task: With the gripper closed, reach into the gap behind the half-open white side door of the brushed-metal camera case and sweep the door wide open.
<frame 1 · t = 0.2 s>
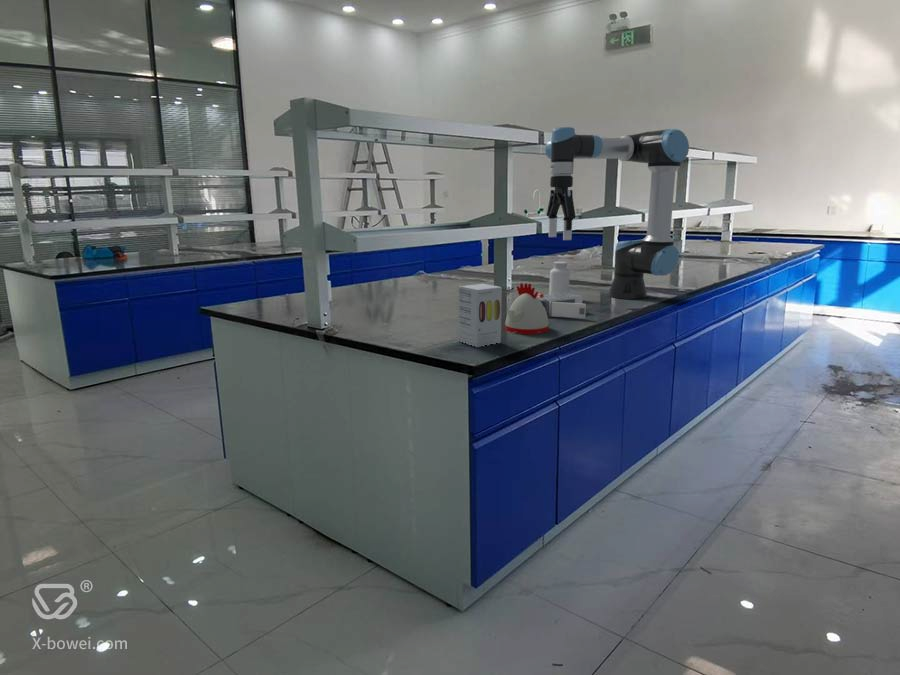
hand: (559, 238, 211), 27 cm above the countertop, tool pointing down, fingers open, 13 cm apart
supplement box: (479, 343, 180), on the countertop
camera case: (555, 312, 222), on the countertop
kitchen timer: (526, 330, 196), on the countertop
door: (566, 310, 210), point 3 cm above the countertop, hinge at 50.0°
pill bottle: (558, 299, 248), on the countertop
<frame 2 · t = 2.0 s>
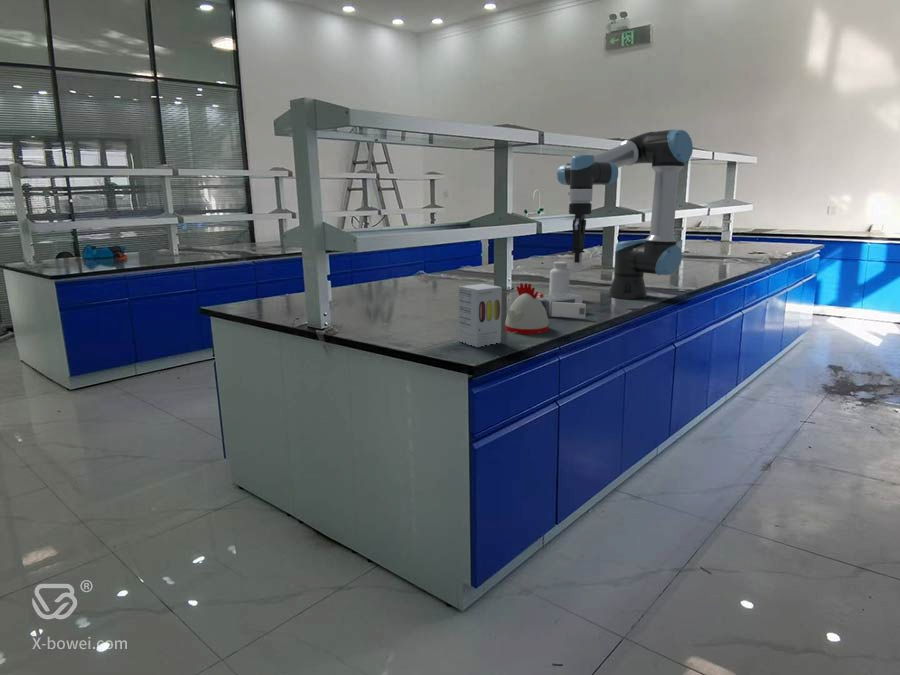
hand: (577, 271, 211), 16 cm above the countertop, tool pointing down, fingers closed
nothing on the countertop moved.
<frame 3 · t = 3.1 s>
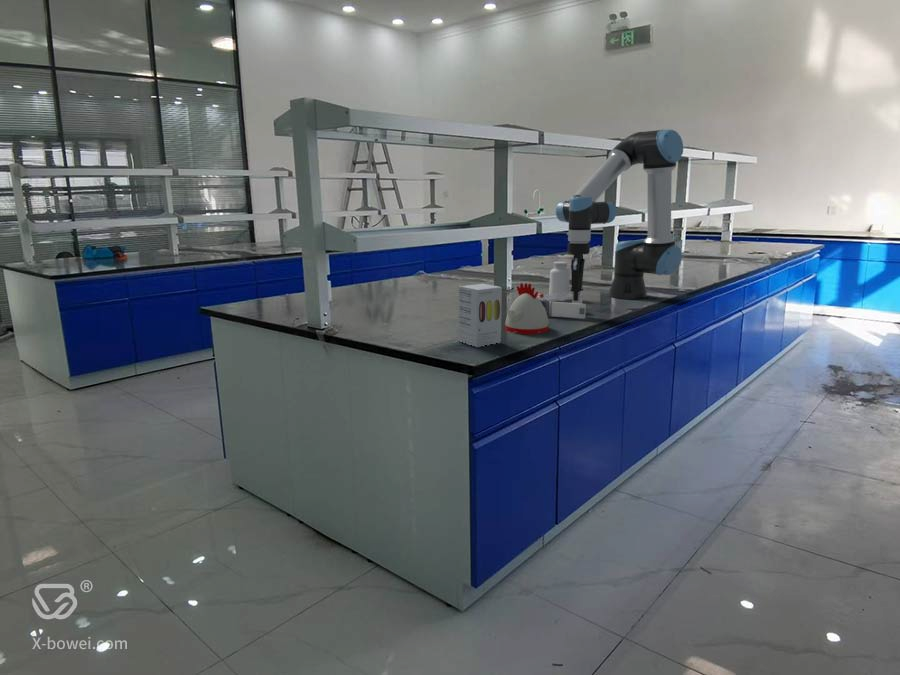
hand: (575, 309, 214), 2 cm above the countertop, tool pointing down, fingers closed
nothing on the countertop moved.
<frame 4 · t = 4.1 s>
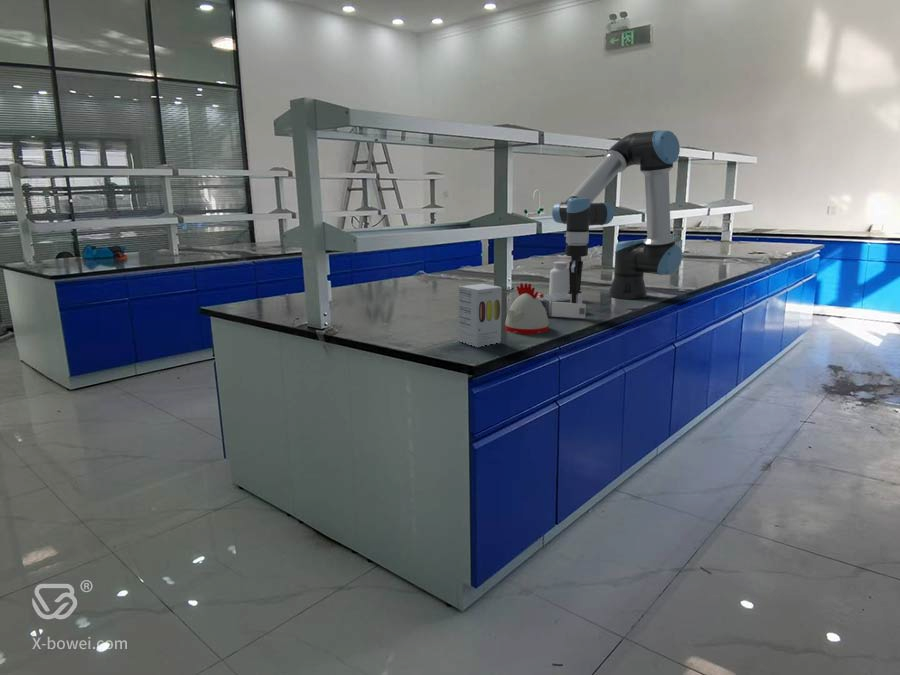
hand: (574, 312, 212), 2 cm above the countertop, tool pointing down, fingers closed
door: (566, 310, 210), point 3 cm above the countertop, hinge at 50.2°, touching gripper
everything else where it was.
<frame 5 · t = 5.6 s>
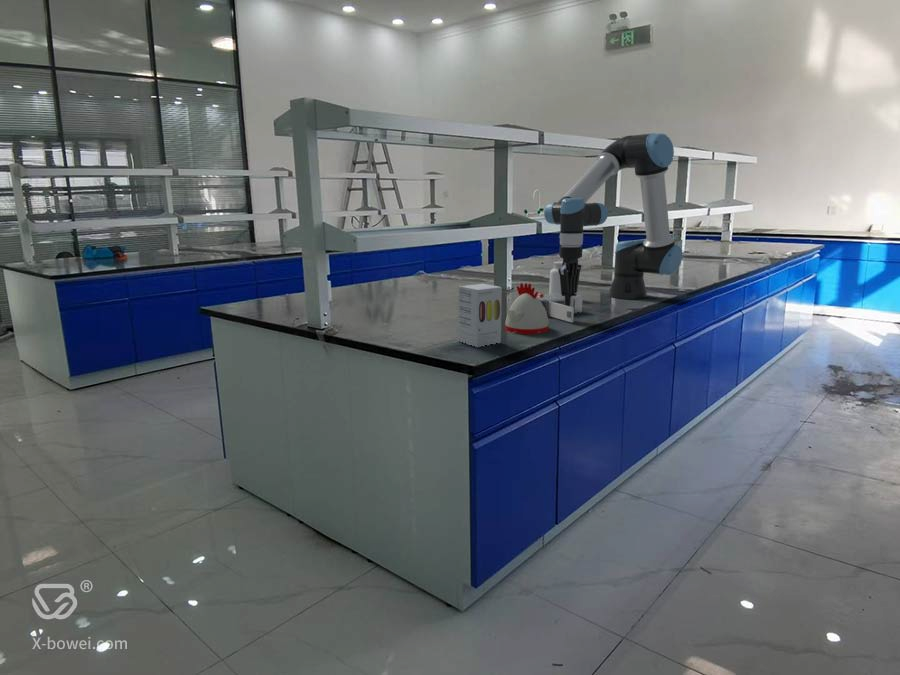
hand: (568, 314, 207), 2 cm above the countertop, tool pointing down, fingers closed
door: (560, 311, 207), point 3 cm above the countertop, hinge at 90.9°, touching gripper
everything else where it was.
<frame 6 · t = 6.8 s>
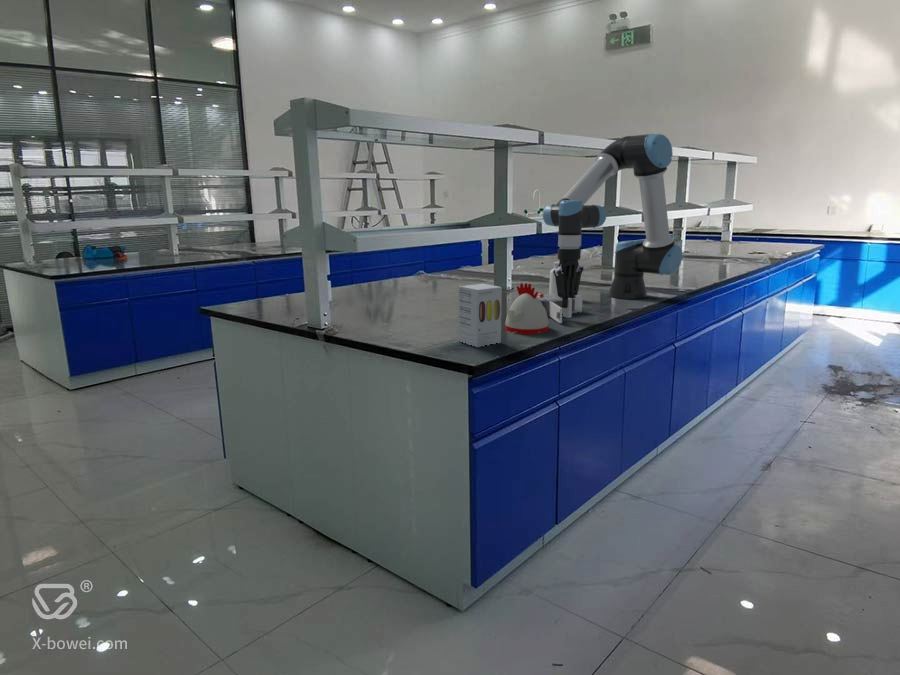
hand: (567, 316, 207), 1 cm above the countertop, tool pointing down, fingers closed
door: (554, 312, 207), point 3 cm above the countertop, hinge at 111.3°
everything else where it was.
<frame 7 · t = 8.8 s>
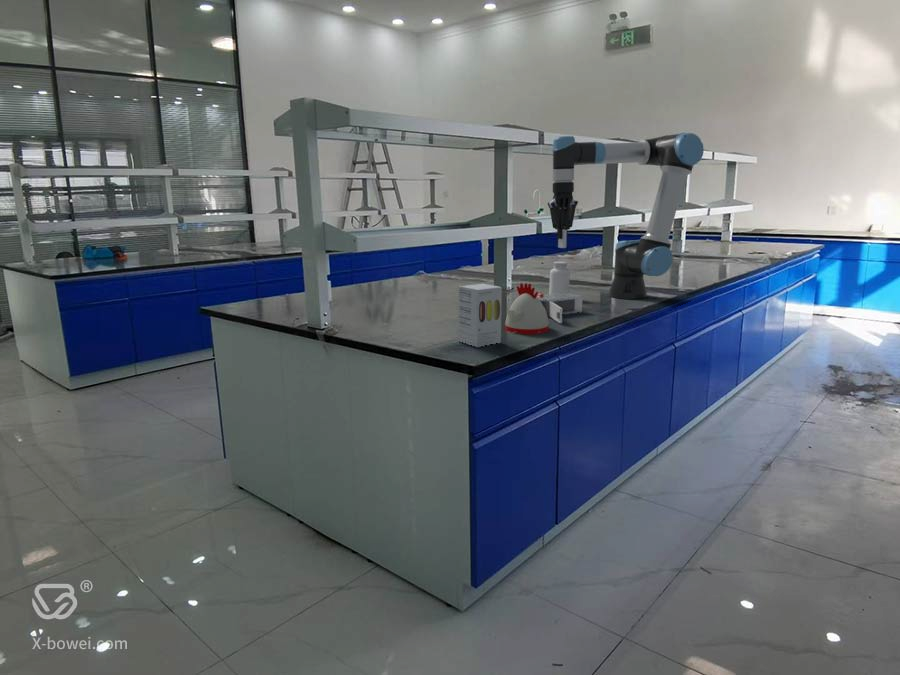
hand: (562, 247, 223), 23 cm above the countertop, tool pointing down, fingers closed
nothing on the countertop moved.
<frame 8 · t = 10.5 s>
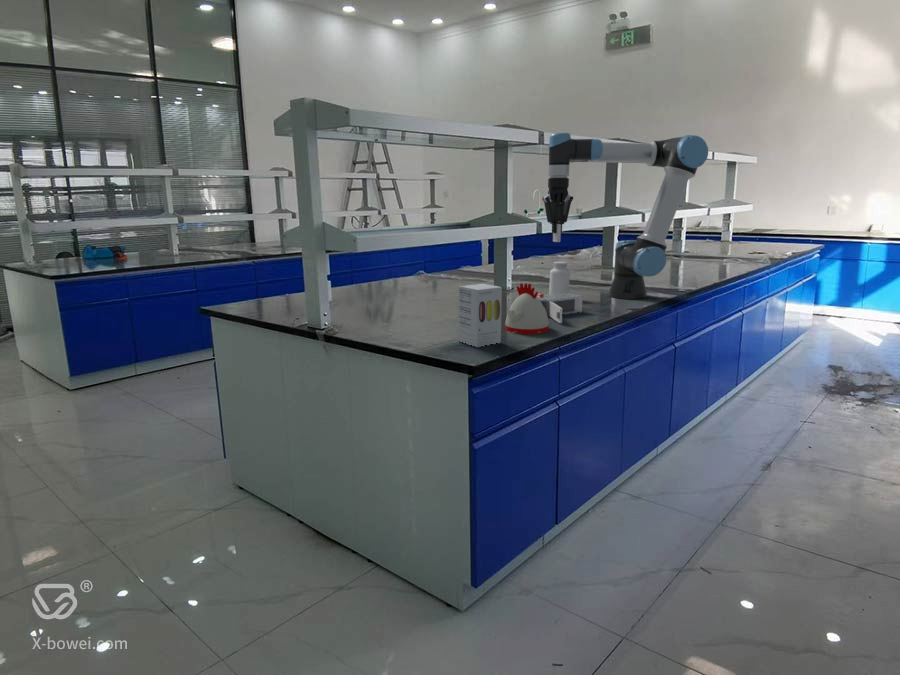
hand: (556, 241, 229), 24 cm above the countertop, tool pointing down, fingers closed
nothing on the countertop moved.
at the end: door at +111° (first picture: +50°) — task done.
